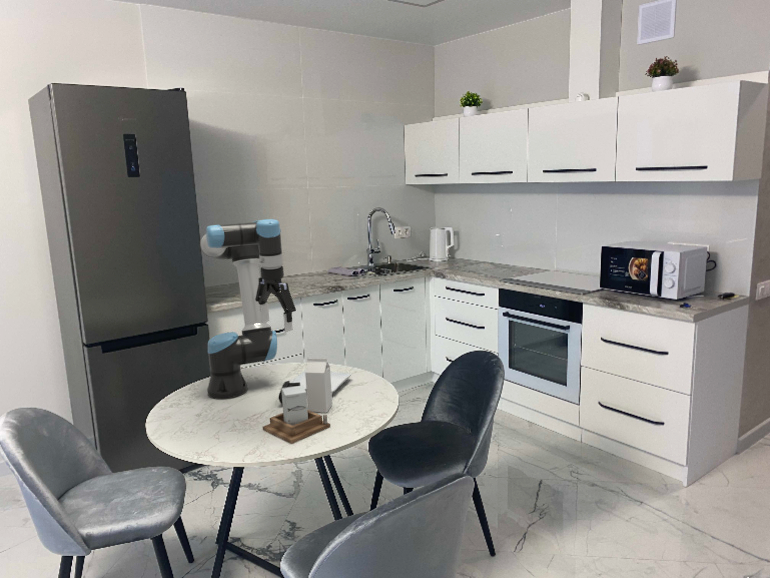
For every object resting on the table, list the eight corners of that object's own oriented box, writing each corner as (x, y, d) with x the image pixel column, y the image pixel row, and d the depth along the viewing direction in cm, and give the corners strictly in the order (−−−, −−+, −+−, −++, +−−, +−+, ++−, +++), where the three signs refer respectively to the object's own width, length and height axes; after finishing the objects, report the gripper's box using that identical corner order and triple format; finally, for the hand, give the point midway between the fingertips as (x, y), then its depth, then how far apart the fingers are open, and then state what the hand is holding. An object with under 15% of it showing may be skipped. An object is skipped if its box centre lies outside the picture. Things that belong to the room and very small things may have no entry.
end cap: (282, 397, 224) (281, 380, 222) (301, 396, 224) (300, 379, 223) (279, 407, 214) (277, 390, 213) (298, 406, 214) (297, 389, 213)
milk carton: (326, 413, 207) (323, 362, 204) (307, 412, 209) (304, 361, 205) (332, 405, 214) (329, 355, 210) (314, 404, 216) (310, 355, 212)
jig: (262, 429, 195) (261, 418, 195) (301, 414, 207) (300, 403, 206) (291, 443, 184) (290, 431, 184) (330, 427, 195) (329, 415, 195)
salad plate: (333, 399, 221) (332, 390, 220) (282, 395, 227) (282, 386, 226) (353, 380, 240) (352, 372, 240) (306, 376, 247) (305, 369, 246)
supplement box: (286, 431, 190) (284, 395, 188) (283, 422, 197) (280, 387, 195) (309, 428, 193) (306, 391, 190) (305, 419, 200) (302, 384, 197)
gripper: (241, 262, 200) (247, 321, 206) (284, 275, 183) (289, 337, 189) (260, 258, 205) (265, 315, 211) (303, 270, 188) (308, 331, 194)
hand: (276, 326), depth 200 cm, fingers open, 13 cm apart
